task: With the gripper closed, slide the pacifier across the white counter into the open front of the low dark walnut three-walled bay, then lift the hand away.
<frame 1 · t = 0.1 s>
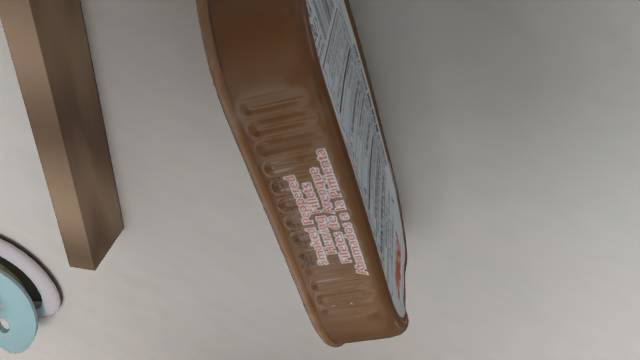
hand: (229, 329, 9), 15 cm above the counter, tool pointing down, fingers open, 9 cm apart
pacifier: (9, 271, 33), on the counter
tin: (346, 84, 23), on the counter
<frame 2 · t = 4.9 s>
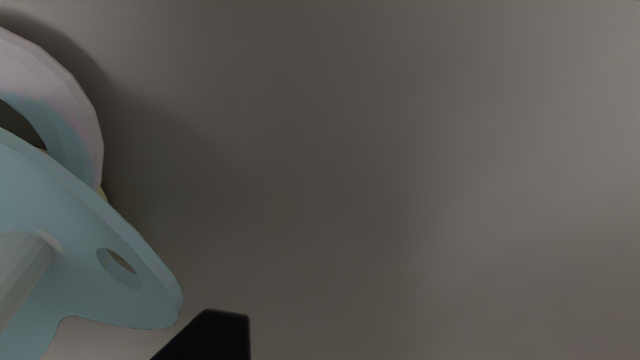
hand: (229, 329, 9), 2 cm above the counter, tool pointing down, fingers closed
pacifier: (5, 175, 10), on the counter, touching gripper
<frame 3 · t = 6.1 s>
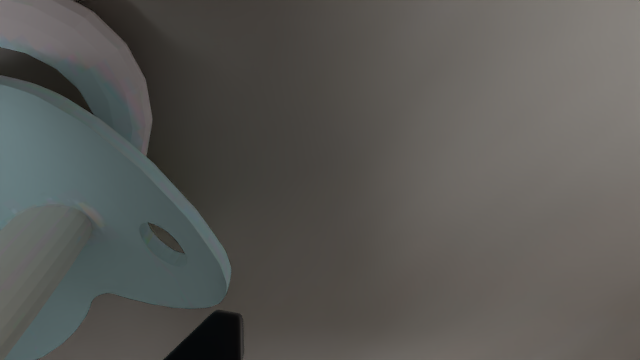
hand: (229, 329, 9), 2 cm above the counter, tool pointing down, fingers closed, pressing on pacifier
pacifier: (42, 148, 10), on the counter, touching gripper
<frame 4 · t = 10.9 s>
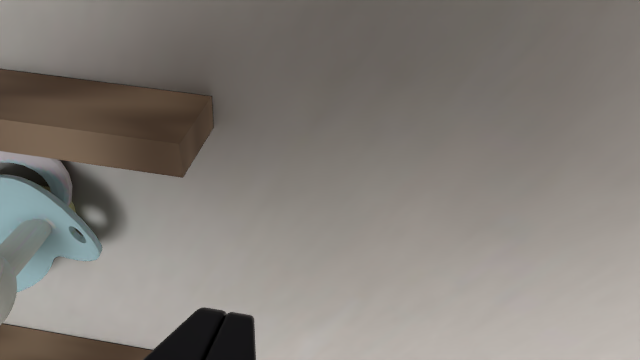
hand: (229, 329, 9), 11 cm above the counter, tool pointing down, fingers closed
pacifier: (31, 195, 24), on the counter
walnut bay: (38, 235, 25), on the counter
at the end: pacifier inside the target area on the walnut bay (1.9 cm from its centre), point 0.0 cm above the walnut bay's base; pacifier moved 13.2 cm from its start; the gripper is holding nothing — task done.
